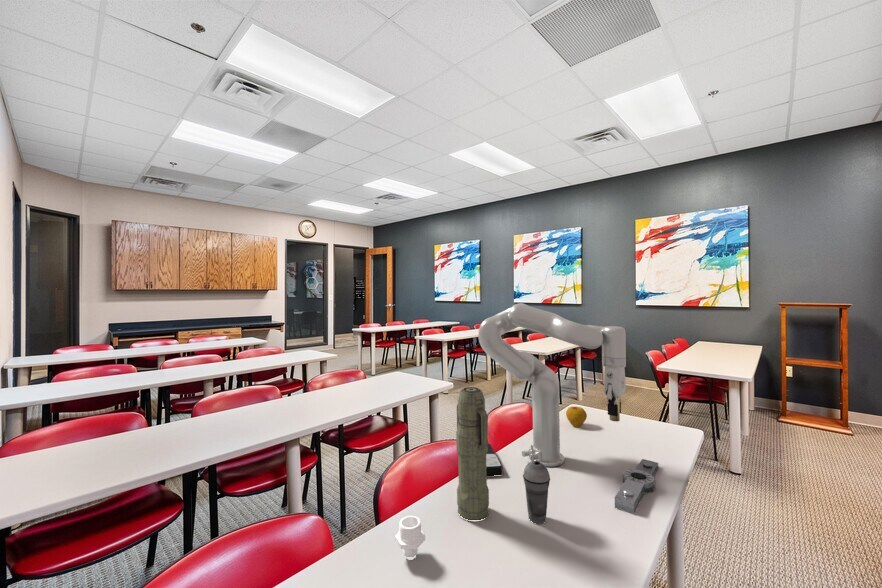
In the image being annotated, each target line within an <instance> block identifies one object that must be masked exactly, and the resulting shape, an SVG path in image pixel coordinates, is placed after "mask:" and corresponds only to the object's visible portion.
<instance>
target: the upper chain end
mask: <svg viewBox="0 0 882 588" xmlns="http://www.w3.org/2000/svg"><path fill="white" fill-rule="evenodd" d="M633 477H639V478H643V479H644V480H639V479H635V478H633ZM623 479H624V480H625V482H624V483H623V484H622V485H621V487H620V488H619V490H618V491H617V493H616V494H615V497H614V508H615V509H616V508H617V510H620V511H623V512H625V513H629V514H632V515H635V514H634V513H636V512H637V509H638V508H639V506H640V504H641V502H642V500H643V498H644V496H645V493H644V489H645V488H650V487H653V486H654V484H655V485H656V479H655V476H654V477H653V476H652V475H650V474H649V473H647V472H644V471H640V470H636V469H625V470H624V471H623V473H622V480H623Z"/></svg>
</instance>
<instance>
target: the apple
mask: <svg viewBox="0 0 882 588" xmlns="http://www.w3.org/2000/svg"><path fill="white" fill-rule="evenodd" d="M565 415H566V418H567V420H568V422H569V423H570V424H571V425H572V426H573V427H574V428H580V427H581V426H583V425H584V423H585V422H586V420H587V417H588V414H587V411H586V410H585V409H584V408H582V407H580V406H569V407H568V408H567V409H566V412H565Z"/></svg>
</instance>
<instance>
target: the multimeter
mask: <svg viewBox="0 0 882 588" xmlns="http://www.w3.org/2000/svg"><path fill="white" fill-rule="evenodd" d="M486 472H487V476H494V475H502V476H503V466H502V464H501V462H500V460H499V458H498V456H497V454H496V452H495V450H494V448H493V446H492V445H491V443H488V452H487V454H486ZM494 477H495V476H494Z"/></svg>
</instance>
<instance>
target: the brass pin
mask: <svg viewBox="0 0 882 588" xmlns="http://www.w3.org/2000/svg"><path fill="white" fill-rule="evenodd" d="M612 395H615V394H613V393H612ZM612 398H614V397H612ZM617 405H618V416H612V415H609V421H612V422H620V420H621V419H620V417H621V416H620V414H621V413H620V397H617Z"/></svg>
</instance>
